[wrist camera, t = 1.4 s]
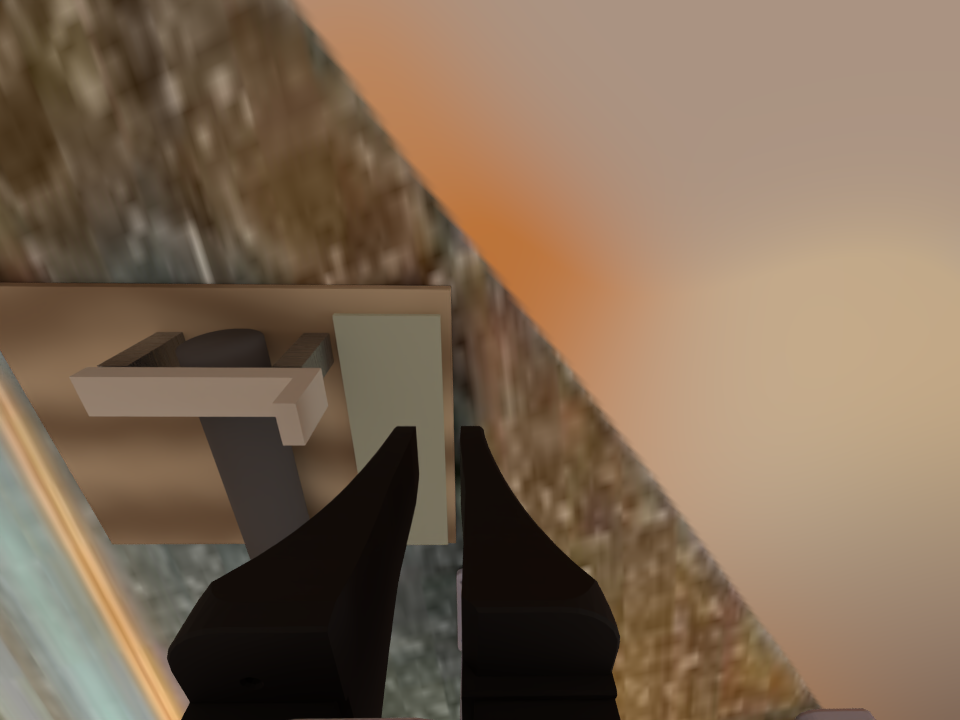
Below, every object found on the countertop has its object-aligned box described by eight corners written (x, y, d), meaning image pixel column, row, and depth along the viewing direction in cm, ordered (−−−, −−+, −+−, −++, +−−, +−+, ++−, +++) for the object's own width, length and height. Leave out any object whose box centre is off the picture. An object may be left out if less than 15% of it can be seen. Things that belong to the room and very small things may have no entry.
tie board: (456, 535, 27) (453, 594, 23) (119, 536, 27) (63, 597, 23) (450, 285, 19) (445, 316, 16) (-23, 282, 19) (-142, 312, 15)
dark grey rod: (324, 533, 26) (302, 583, 23) (271, 531, 26) (242, 581, 23) (277, 328, 19) (238, 361, 16) (207, 327, 20) (155, 359, 16)
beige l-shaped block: (328, 405, 17) (305, 445, 15) (105, 405, 17) (46, 445, 15) (321, 368, 16) (295, 403, 14) (87, 367, 16) (21, 402, 14)
